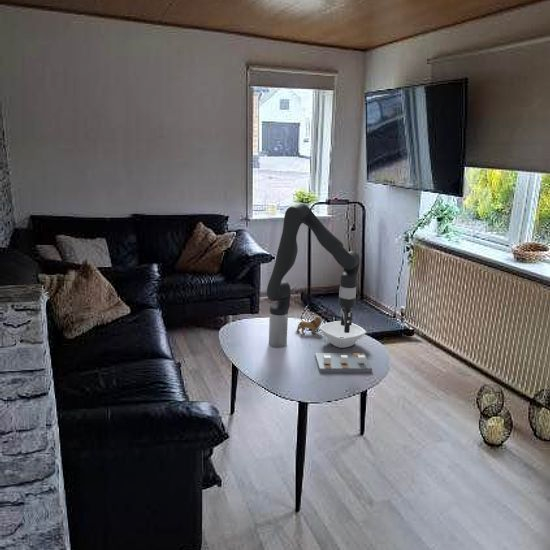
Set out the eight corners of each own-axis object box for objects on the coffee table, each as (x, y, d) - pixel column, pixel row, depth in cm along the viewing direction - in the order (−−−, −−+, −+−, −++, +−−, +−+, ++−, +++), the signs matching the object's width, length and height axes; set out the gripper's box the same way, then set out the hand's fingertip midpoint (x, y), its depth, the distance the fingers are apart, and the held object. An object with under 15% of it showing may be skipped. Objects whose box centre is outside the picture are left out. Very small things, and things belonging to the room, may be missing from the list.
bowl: (343, 333, 269) (344, 318, 267) (370, 347, 253) (371, 332, 250) (313, 340, 258) (314, 325, 256) (338, 356, 242) (339, 340, 239)
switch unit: (314, 356, 240) (315, 352, 239) (363, 356, 242) (363, 352, 241) (319, 372, 225) (320, 368, 224) (371, 372, 226) (372, 367, 226)
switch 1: (323, 361, 230) (323, 355, 229) (329, 361, 231) (330, 355, 230) (324, 363, 228) (324, 357, 227) (330, 363, 228) (331, 357, 227)
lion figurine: (319, 330, 273) (320, 314, 270) (322, 333, 268) (323, 318, 265) (293, 332, 269) (294, 316, 266) (296, 335, 264) (297, 320, 261)
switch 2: (340, 361, 231) (340, 355, 230) (346, 360, 231) (347, 355, 231) (341, 363, 229) (341, 357, 228) (347, 363, 229) (348, 357, 228)
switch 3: (357, 360, 232) (357, 355, 231) (363, 360, 232) (363, 355, 231) (358, 363, 229) (358, 357, 229) (364, 363, 230) (365, 357, 229)
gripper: (336, 290, 230) (334, 323, 234) (342, 300, 216) (339, 335, 221) (352, 290, 230) (349, 323, 235) (359, 300, 217) (356, 335, 221)
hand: (344, 328), depth 228 cm, fingers open, 8 cm apart
